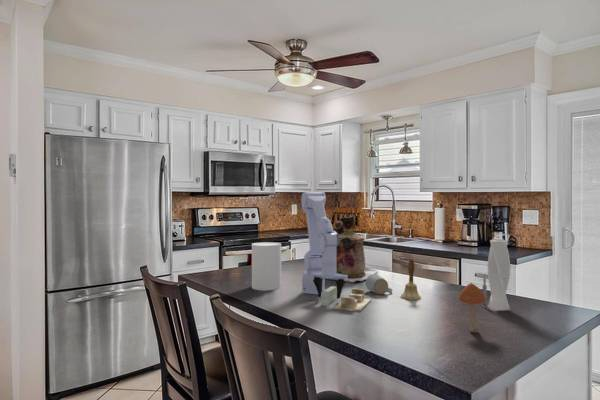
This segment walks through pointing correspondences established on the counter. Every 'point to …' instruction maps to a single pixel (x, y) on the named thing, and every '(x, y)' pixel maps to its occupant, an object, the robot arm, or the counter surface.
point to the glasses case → (328, 295)
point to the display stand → (353, 301)
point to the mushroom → (472, 303)
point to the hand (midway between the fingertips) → (329, 297)
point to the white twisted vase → (497, 275)
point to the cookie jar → (350, 251)
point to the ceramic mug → (377, 284)
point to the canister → (266, 266)
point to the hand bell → (411, 285)
